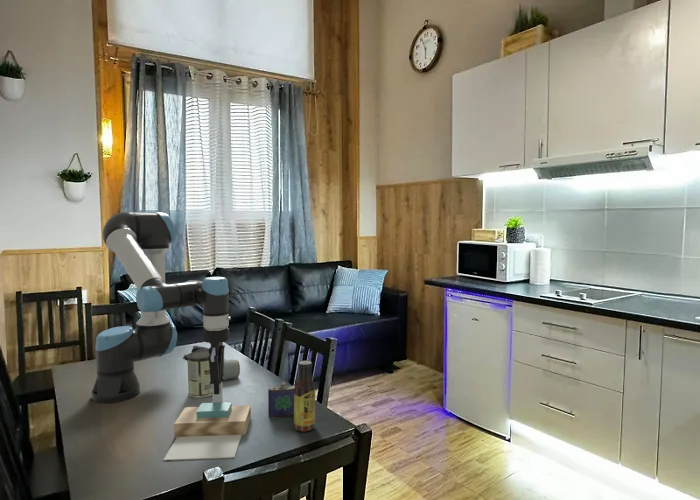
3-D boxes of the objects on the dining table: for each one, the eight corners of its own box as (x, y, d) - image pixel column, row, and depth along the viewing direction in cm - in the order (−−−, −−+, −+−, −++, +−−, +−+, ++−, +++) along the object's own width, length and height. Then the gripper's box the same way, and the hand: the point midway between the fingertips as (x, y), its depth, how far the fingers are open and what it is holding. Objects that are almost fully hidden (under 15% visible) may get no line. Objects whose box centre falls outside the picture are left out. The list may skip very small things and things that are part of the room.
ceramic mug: (241, 379, 172) (240, 360, 171) (219, 383, 168) (219, 363, 167) (234, 372, 181) (233, 353, 180) (213, 375, 177) (213, 356, 176)
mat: (163, 460, 114) (163, 459, 114) (177, 437, 126) (177, 436, 126) (234, 457, 116) (234, 456, 115) (241, 435, 127) (241, 434, 127)
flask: (297, 412, 143) (296, 379, 142) (298, 416, 140) (297, 383, 140) (268, 414, 141) (267, 382, 140) (268, 418, 138) (268, 385, 137)
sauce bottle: (306, 434, 128) (306, 367, 127) (289, 429, 131) (289, 363, 130) (319, 426, 134) (319, 361, 132) (303, 420, 137) (302, 358, 135)
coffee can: (202, 385, 166) (201, 348, 165) (224, 389, 162) (223, 351, 161) (181, 395, 157) (180, 356, 156) (203, 400, 152) (202, 360, 151)
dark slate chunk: (193, 371, 183) (192, 359, 182) (182, 356, 201) (182, 346, 201) (229, 364, 191) (229, 354, 190) (216, 351, 209) (216, 342, 209)
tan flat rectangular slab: (174, 437, 126) (174, 423, 126) (185, 419, 137) (185, 407, 137) (245, 434, 128) (245, 421, 128) (250, 417, 139) (250, 405, 139)
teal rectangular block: (196, 418, 130) (196, 411, 129) (201, 409, 135) (201, 403, 135) (227, 417, 130) (227, 410, 130) (231, 408, 136) (231, 402, 136)
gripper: (224, 332, 129) (226, 411, 131) (232, 322, 142) (233, 394, 144) (198, 333, 128) (200, 412, 130) (208, 323, 141) (210, 395, 143)
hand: (217, 402), depth 137 cm, fingers closed
